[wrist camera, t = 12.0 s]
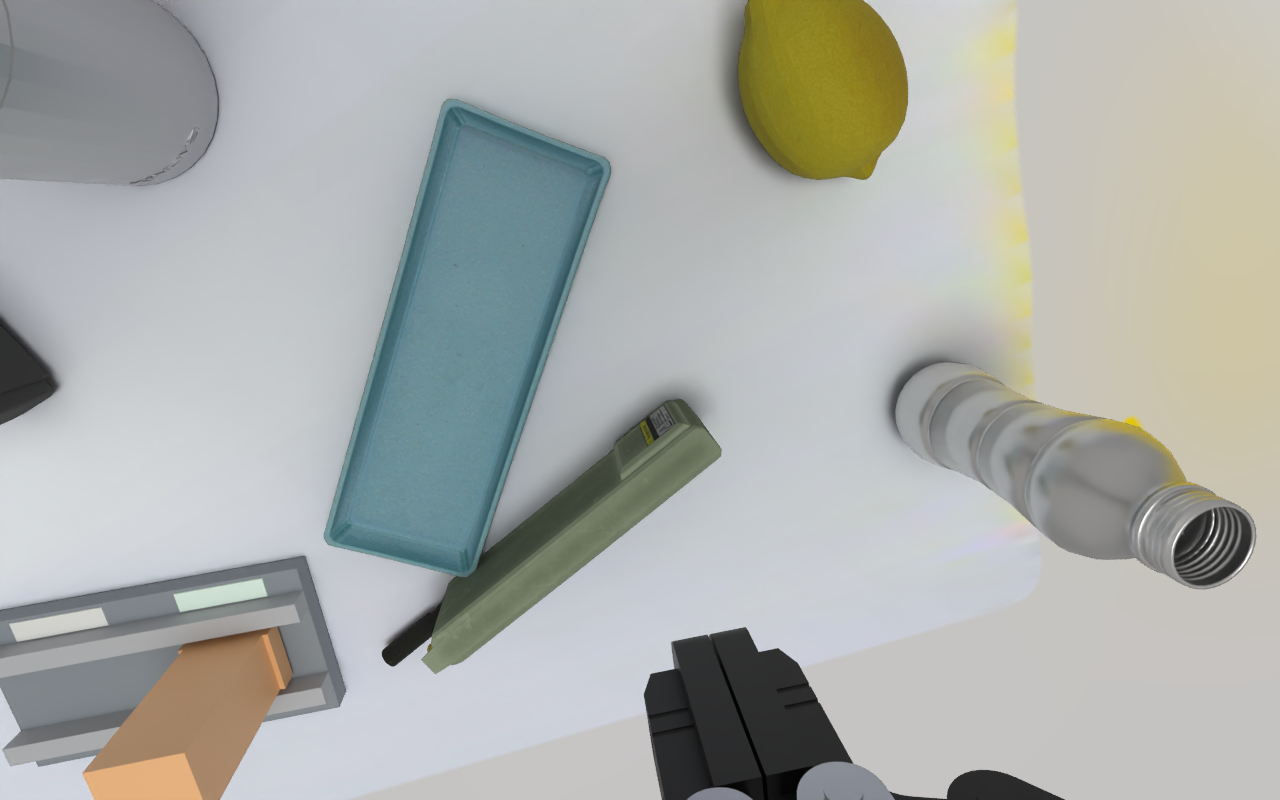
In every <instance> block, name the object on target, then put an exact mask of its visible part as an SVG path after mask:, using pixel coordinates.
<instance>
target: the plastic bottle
mask: <svg viewBox="0 0 1280 800" xmlns="http://www.w3.org/2000/svg"><path fill="white" fill-rule="evenodd" d="M895 414H896V424H897V428H898V430H899V432H900V435H901V436H902V438H903V439H904V440H905V442H906V443H907V444H908V445H909V446H910V447H911V449H912V450H913V451H914V452H915V453H916V454H917V455H919V456H920V457H921V458H923V459H925V460H927V461H929V462H931V463H933V464H936V465H938V466H941V467H944V468H948V469H951V470H955V471H958V472H960V473H962V474H964V475H966V476H968V477H970V478H972V479H974V480H976V481H978V482H980V483H982V484H983V485H985V486H986V487H988V488H989V489H990V490H992V491H994V492H995V493H996V494H997V495H999V496H1000V497H1001V498H1003V499H1004V500H1005V501H1007V502H1008V503H1010V504H1011V505H1012V506H1013V507H1014V508H1015V509H1016V510H1017V511H1019V512H1020V513H1021V514H1022V515H1023V516H1024V517H1025V518H1026V519H1027V520H1028V521H1029V522H1030V523H1032V524H1033V525H1034V526H1035V527H1036V528H1037V529H1038V530H1039V531H1040V532H1041V533H1042V534H1044V535H1045V536H1046V537H1047V538H1049V539H1050V540H1051V541H1053V542H1054V543H1055V544H1056V545H1058V546H1059V547H1061V548H1063V549H1065V550H1066V551H1068V552H1072V553H1075V554H1079V555H1082V556H1086V557H1090V558H1094V559H1102V560H1114V559H1131V558H1136V559H1137V560H1139V561H1140V562H1141V563H1142V564H1144V565H1145V566H1147V567H1149V568H1150V569H1152V570H1154V571H1156V572H1159V573H1163V574H1165V575H1167V576H1169V577H1171V578H1172V579H1174V580H1175V581H1177V582H1179V583H1181V584H1183V585H1185V586H1188V587H1190V588H1194V589H1210V588H1214V587H1217V586H1220V585H1222V584H1224V583H1226V582H1227V581H1229V580H1230V579H1232V578H1233V577H1234V576H1236V575H1237V574H1238V573H1239V572H1240V571H1241V570H1242V569H1243V568H1244V566H1245V565H1246V563H1247V562H1248V560H1249V559H1250V556H1251V555H1252V553H1253V549H1254V547H1255V542H1256V527H1255V524H1254V521H1253V519H1252V517H1251V516H1250V515H1249V514H1248V513H1247V512H1246V510H1244V509H1242V508H1241V507H1240V506H1238V505H1236V504H1234V503H1232V502H1230V501H1228V500H1225V499H1223V498H1221V497H1218V496H1216V495H1215V494H1214V493H1213V492H1212V491H1210V490H1208V489H1207V488H1204V487H1202V486H1199V485H1197V484H1194V483H1190V482H1187V481H1186V478H1185V476H1184V474H1183V472H1182V471H1181V469H1180V467H1179V465H1178V464H1177V462H1176V460H1175V458H1174V457H1173V455H1172V454H1171V452H1170V451H1169V450H1168V449H1167V448H1166V447H1165V446H1164V445H1163V444H1162V443H1161V442H1159V441H1158V440H1157V439H1156V438H1154V437H1153V436H1152V435H1151V434H1149V433H1148V432H1146V431H1144V430H1143V429H1141V428H1139V427H1136V426H1133V425H1130V424H1126V423H1122V422H1118V421H1115V420H1112V419H1106V418H1101V417H1096V416H1091V415H1085V414H1080V413H1075V412H1070V411H1065V410H1062V409H1058V408H1055V407H1052V406H1049V405H1045V404H1042V403H1039V402H1036V401H1033V400H1030V399H1029V398H1027V397H1025V396H1023V395H1021V394H1019V393H1017V392H1015V391H1013V390H1011V389H1009V388H1008V387H1006V386H1004V385H1003V384H1002V383H1001V382H1000V381H998V380H997V379H996V378H994V377H993V376H991V375H989V374H988V373H986V372H984V371H983V370H981V369H979V368H977V367H975V366H972V365H968V364H960V363H948V362H943V363H936V364H933V365H930V366H927V367H925V368H923V369H921V370H920V371H918V372H917V373H916V374H915V375H913V376H912V377H911V378H910V379H909V380H908V382H907V383H906V384H905V385H904V387H903V389H902V391H901V392H900V395H899V397H898V400H897V404H896V410H895Z"/></svg>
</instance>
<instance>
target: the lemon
mask: <svg viewBox="0 0 1280 800" xmlns="http://www.w3.org/2000/svg"><path fill="white" fill-rule="evenodd" d="M738 82H739V89H740V96H741V101H742V105H743V109H744V112H745V115H746V117H747V120H748V122H749V124H750V126H751V128H752V130H753V132H754V133H755V135H756V137H757V138H758V140H759V141H760V143H761V145H762V146H763V147H764V149H765V150H766V151H767V152H768V154H769V155H770V156H771V157H772V158H773V159H774V160H775V161H776V162H777V163H778V164H779V165H780V166H782V167H783V168H785V169H786V170H788V171H789V172H791V173H792V174H795V175H798V176H801V177H804V178H809V179H816V180H822V179H831V178H837V177H843V176H844V177H852V178H856V179H861V180H864V179H867V178H869V177H870V176H871V174H872V173H873V171H874V169H875V166H876V163H877V160H878V158H879V156H880V154H881V153H882V151H883V150H885V149H886V148H887V147H888V146H889V145H890V144H891V143H892V142H893V141H894V140H895V138H896V137H897V135H898V133H899V131H900V129H901V127H902V125H903V123H904V120H905V116H906V111H907V106H908V81H907V71H906V67H905V64H904V60H903V56H902V53H901V51H900V48H899V46H898V43H897V41H896V39H895V37H894V36H893V34H892V32H891V30H890V28H889V27H888V26H887V24H886V23H885V22H884V20H883V19H882V18H881V17H880V16H879V15H878V13H877V12H876V11H875V10H874V9H873V8H872V7H871V6H870V5H869V4H867V3H866V2H864V1H863V0H748V2H747V4H746V6H745V32H744V37H743V42H742V46H741V49H740V53H739V62H738Z"/></svg>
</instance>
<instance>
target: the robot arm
mask: <svg viewBox="0 0 1280 800" xmlns="http://www.w3.org/2000/svg"><path fill="white" fill-rule="evenodd" d="M217 111H218V97H217V91H216V86H215V81H214V76H213V74H212V71H211V69H210V66H209V64H208V61H207V59H206V56H205V55H204V53H203V52H202V50H201V48H200V47H199V45H198V44H197V42H196V40H195V39H194V37H193V36H192V35H191V34H190V33H189V32H188V31H187V29H186V28H185V27H184V26H183V25H182V24H181V23H180V22H179V21H178V20H177V19H176V18H175V17H174V16H172V15H171V14H170V13H169V12H167V11H166V10H165V9H163V8H162V7H161V6H160V5H158V4H156V3H154V2H152V1H151V0H0V179H19V180H37V181H56V182H74V183H95V184H113V185H132V186H142V185H150V184H158V183H161V182H164V181H166V180H169V179H172V178H175V177H177V176H178V175H180V174H181V173H183V172H184V171H186V170H188V169H189V168H191V167H192V166H193V165H194V164H195V163H196V161H197V160H198V159H199V158H200V157H201V156H202V155H203V154H204V152H205V150H206V148H207V146H208V145H209V143H210V141H211V139H212V137H213V133H214V129H215V125H216V122H217ZM671 645H672V654H673V661H674V668H675V669H673V670H668V671H663V672H658V673H653V674H651V675H650V678H649V681H648V684H647V687H646V690H645V693H644V699H645V705H646V711H647V717H648V723H649V730H650V736H651V743H652V749H653V756H654V761H655V766H656V771H657V777H658V781H659V787H660V792H661V797H662V800H1064V799H1062V798H1060V797H1058V796H1056V795H1053V794H1051V793H1049V792H1047V791H1044V790H1042V789H1040V788H1038V787H1036V786H1033V785H1031V784H1029V783H1027V782H1025V781H1022V780H1020V779H1018V778H1016V777H1013V776H1011V775H1008V774H1005V773H1001V772H998V771H991V770H976V771H970V772H967V773H964V774H962V775H960V776H958V777H957V778H956V779H955V780H954V781H953V782H952V783H951V785H950V787H949V789H948V793H947V799H937V798H923V797H911V796H904V795H899V794H895V793H892V792H889V791H888V789H887V788H886V786H885V785H884V784H883V783H882V781H881V780H880V779H879V778H878V777H877V776H875V775H874V774H873V773H871V772H870V771H869V770H867V769H865V768H863V767H861V766H858V765H855V764H853V762H852V760H851V759H850V757H849V755H848V753H847V751H846V750H845V748H844V746H843V744H842V742H841V741H840V739H839V737H838V735H837V733H836V732H835V730H834V728H833V726H832V724H831V723H830V721H829V719H828V717H827V715H826V713H825V712H824V710H823V708H822V706H821V704H820V703H818V700H817V697H816V695H815V694H814V692H813V690H812V688H811V687H809V683H808V681H807V679H806V677H805V675H804V674H803V672H802V670H801V668H800V666H799V665H798V663H797V662H795V661H794V660H793V659H791V658H790V657H789V656H788V655H786V654H785V653H784V652H782V651H781V650H780V649H778V648H777V649H772V650H767V651H762V652H758V650H757V648H756V646H755V644H754V642H753V640H752V638H751V636H750V634H749V632H748V630H747V628H746V627H744V628H739V629H734V630H729V631H724V632H719V633H714V634H710V635H709V637H708V635H703V636H698V637H693V638H688V639H683V640H678V641H673V642H671Z"/></svg>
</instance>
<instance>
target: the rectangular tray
mask: <svg viewBox="0 0 1280 800" xmlns="http://www.w3.org/2000/svg"><path fill="white" fill-rule="evenodd" d="M610 175H611V167H610V163H609V161H608V160H607V159H606V158H604V157H601V156H599V155H596V154H593V153H591V152H588V151H585V150H583V149H580V148H577V147H574V146H572V145H569V144H567V143H564V142H562V141H559V140H556V139H553V138H550V137H547V136H545V135H542V134H540V133H538V132H535V131H532V130H530V129H527V128H524V127H522V126H519V125H517V124H515V123H512V122H510V121H507V120H505V119H502V118H500V117H497V116H494V115H492V114H490V113H488V112H486V111H483V110H480V109H478V108H476V107H474V106H471V105H469V104H467V103H464V102H462V101H459V100H457V99H447V100H446V101H444V103H443V104H442V107H441V110H440V115H439V118H438V122H437V126H436V130H435V134H434V137H433V141H432V145H431V149H430V152H429V156H428V160H427V164H426V168H425V171H424V175H423V178H422V182H421V186H420V189H419V193H418V196H417V200H416V204H415V207H414V212H413V216H412V219H411V222H410V226H409V230H408V234H407V237H406V241H405V245H404V249H403V252H402V256H401V260H400V263H399V267H398V271H397V274H396V278H395V281H394V284H393V288H392V292H391V295H390V299H389V303H388V307H387V310H386V314H385V317H384V321H383V324H382V328H381V332H380V335H379V339H378V342H377V346H376V349H375V353H374V358H373V361H372V364H371V368H370V371H369V375H368V378H367V382H366V386H365V390H364V393H363V396H362V400H361V403H360V408H359V411H358V414H357V418H356V421H355V425H354V429H353V433H352V436H351V440H350V443H349V446H348V450H347V453H346V457H345V461H344V464H343V468H342V472H341V475H340V479H339V482H338V486H337V491H336V494H335V497H334V501H333V504H332V508H331V512H330V515H329V519H328V522H327V525H326V529H325V532H324V539H325V541H326V543H327V544H328V545H331V546H334V547H338V548H343V549H347V550H352V551H356V552H361V553H365V554H369V555H374V556H378V557H382V558H386V559H391V560H395V561H399V562H402V563H406V564H411V565H415V566H419V567H423V568H427V569H431V570H435V571H439V572H444V573H447V574H451V575H455V576H459V577H468V576H469V575H470V574H472V573H473V572H474V571H475V570H476V569H477V566H478V562H479V559H480V556H481V553H482V550H483V546H484V543H485V540H486V537H487V534H488V531H489V528H490V525H491V522H492V519H493V516H494V513H495V510H496V507H497V504H498V502H499V499H500V496H501V492H502V489H503V486H504V484H505V481H506V477H507V474H508V471H509V469H510V466H511V463H512V460H513V457H514V454H515V451H516V448H517V445H518V442H519V439H520V436H521V433H522V430H523V427H524V424H525V421H526V419H527V415H528V412H529V410H530V407H531V404H532V401H533V398H534V395H535V392H536V389H537V386H538V383H539V381H540V378H541V375H542V372H543V369H544V366H545V363H546V360H547V357H548V354H549V351H550V348H551V345H552V343H553V340H554V337H555V333H556V330H557V327H558V324H559V321H560V318H561V315H562V313H563V309H564V307H565V304H566V301H567V298H568V295H569V292H570V289H571V286H572V283H573V280H574V277H575V274H576V271H577V268H578V265H579V262H580V259H581V256H582V253H583V251H584V248H585V245H586V242H587V238H588V236H589V233H590V230H591V228H592V224H593V222H594V219H595V216H596V213H597V210H598V207H599V204H600V201H601V198H602V196H603V193H604V190H605V188H606V185H607V183H608V181H609V178H610Z"/></svg>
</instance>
